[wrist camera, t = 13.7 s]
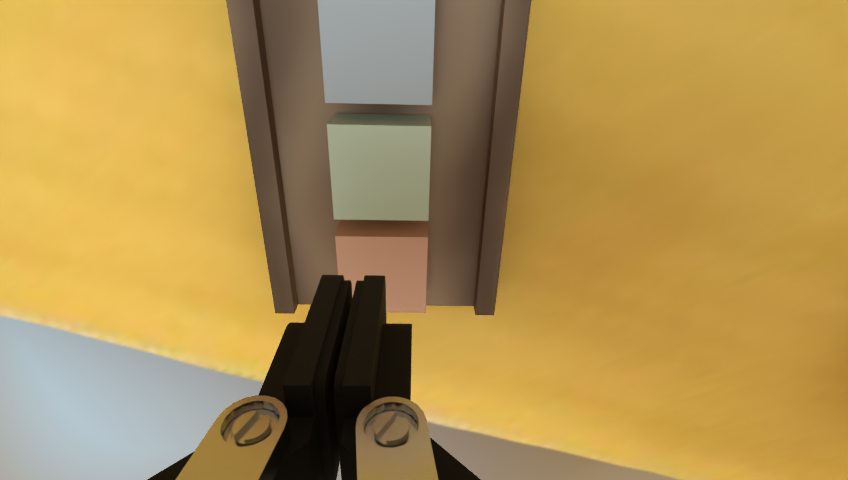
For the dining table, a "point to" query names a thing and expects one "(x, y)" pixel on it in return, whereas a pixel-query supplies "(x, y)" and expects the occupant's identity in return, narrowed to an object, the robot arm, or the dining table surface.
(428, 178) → the key sage
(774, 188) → the dining table surface
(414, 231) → the key terracotta
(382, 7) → the key slate
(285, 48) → the key board
